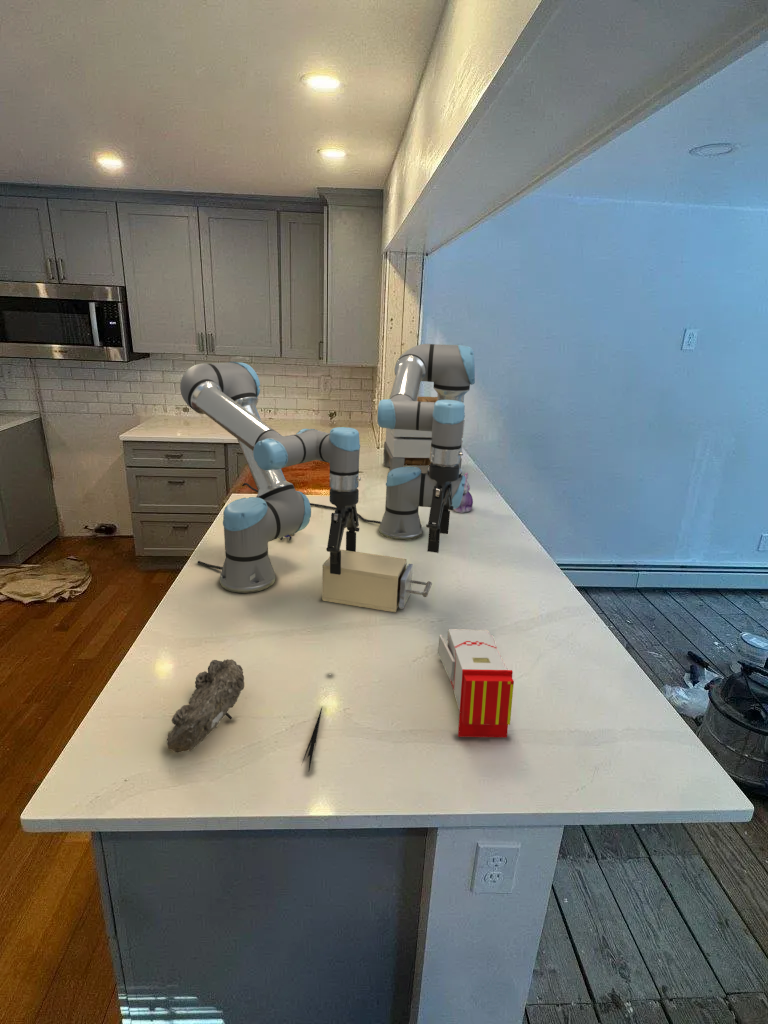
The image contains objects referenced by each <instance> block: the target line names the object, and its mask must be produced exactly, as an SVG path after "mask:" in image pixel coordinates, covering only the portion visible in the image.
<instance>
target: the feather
mask: <svg viewBox="0 0 768 1024" xmlns="http://www.w3.org/2000/svg"><path fill="white" fill-rule="evenodd" d="M329 675H330V676H331V675H332V674H331V673H330V674H329ZM322 710H323V707H321V708H320V710H319V713H318V716H317V719H316V723H315V725H314V728H313V731H312V733H311V737H310V739H309V742H308V745H307V748H306V751H305V754H304V757H303V760H302V763H301V767H302V765H303V763H304V761H305V758H308V759H309V760H308V762H307V763H308V764H307V766H308V771H310V770H311V766H312V765H311V764H312V760H313V757H315V756H314V755H315V751H316V749H315V746H317V739H318V733H319V729H320V722H321V717H322V712H323V711H322ZM313 754H314V755H313ZM306 755H307V757H306Z"/></svg>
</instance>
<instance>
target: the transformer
mask: <svg viewBox="0 0 768 1024" xmlns="http://www.w3.org/2000/svg"><path fill="white" fill-rule="evenodd" d="M417 401H418V402H436V401H437V396H418V398H417ZM464 429H465V419H464V423H463V433H462V439H463V438H464V431H465V430H464ZM431 442H432V431H419V430H402V429H389V428H385V438H384V442H383V466H384V467H388V468H389V472H390V471H391V470H393V469H396V468H399V467H405V466H406V467H417V466H418V467H429V465H430V463H431V462H430V449H431ZM463 442H464V441H463V440H462V442H461V450H460V452H463ZM462 461H463V460H462V456H460V463H459V464H458V465H459V467H460V469H461V470H462Z"/></svg>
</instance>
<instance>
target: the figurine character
mask: <svg viewBox="0 0 768 1024" xmlns="http://www.w3.org/2000/svg"><path fill="white" fill-rule="evenodd" d="M295 535H296V533H294V534H290V535H287V536H284V537H281V538H279V540H280V541H283V539H284V538H288V541H289V542H290V541H292V537H294V536H295Z"/></svg>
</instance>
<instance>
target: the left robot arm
mask: <svg viewBox="0 0 768 1024" xmlns="http://www.w3.org/2000/svg"><path fill="white" fill-rule="evenodd" d="M179 383H180V384H179V389H180V395H181V397H182V399H183V401H184V402H185V404H186V405H187V406H188V407H189V408H191V409H192V410H193V411H194V412H196V413H197V414H199V415H206V416H207V417H208V418H209V419H211V420H212V421H213V422H215V423H216V424H218V426H220V427H221V428H222V429H223V430H225V431H226V432H228V434H230V435H231V436H233V437H234V438H235V439H236V440H237V442H238V445H239V447H240V449H241V452H242V454H243V457H244V460H245V462H246V464H247V466H248V470H249V472H250V474H251V477H252V479H253V481H254V484H255V487H256V490H258V492H257V494H256V496H249V497H242V498H238V499H235V500H233V501H231V502H229V503H228V504H227V505H226V506H225V507H224V510H223V519H222V526H223V534H224V535H223V536H224V553H225V554H224V555H225V557H224V558H225V559H224V561H223V563H222V566H219V565H216V564H215V565H214V564H210V563H207V562H203V561H201V560H197V564H199V565H201V566H204V567H207V568H211V569H216V570H220V571H221V572H220V575H219V583H220V586H221V587H222V588H223V589H224V590H226V591H228V592H232V593H238V594H249V593H257V592H260V591H264V590H266V589H268V588H270V587H272V586H273V585H274V584H275V582H276V571H275V568H274V566H273V563H272V561H271V558H270V556H269V543H270V542H272V541H275V540H278V539H280V538H281V537H283V538H285V537H284V536H287V535H290V534H294V533H295V534H296V533H298V532H300V531H302V530H304V529H305V528H307V527H308V526H309V523H310V522H311V517H312V505H310V503H311V502H310V500H309V498H308V496H307V495H306V494H304V492H302V491H299V490H296V488H295V486H294V484H293V483H292V482H289V481H287V480H286V477H285V475H284V472H283V470H282V469H284V468H288V467H292V466H296V465H300V464H304V463H305V464H306V463H309V462H314V461H318V462H319V461H320V462H324V463H328V464H329V480H328V481H329V483H328V484H329V503H330V504H331V505H333V506H334V507H336V510H335V509H334V512H331V513H330V525H329V532H328V538H327V539H328V540H327V545H326V546H327V547H326V549H325V550H326V552H327V553H328V552H329V557H330V574H338V575H340V574H341V551H340V550H341V546H342V541H343V536H344V533H345V550H347V551H354V552H357V532H359V533H360V525H359V524H360V523H359V517H358V516H357V513H358V510H357V504H358V503H359V494H360V493H359V491H360V490H359V486H360V485H359V484H360V483H359V482H360V481H362V478H361V477H360V475H359V474H360V452H361V451H360V450H361V444H360V432H359V430H358V429H356V428H354V427H346V426H340V427H339V426H338V427H337V426H336V427H333V428H331V429H330V431H329V432H326V431H321V430H318V429H315V428H302V429H300V430H298V432H296V433H295V434H290V435H283V434H281V433H280V432H277V430H276V429H273V428H272V427H271V426H269V425H268V424H267V423H266V422H264V421H262V419H261V416H260V414H259V411H258V409H257V405H258V404H259V398H258V397H259V395H260V393H261V387H260V386H261V382H260V378H259V376H258V374H257V372H256V371H255V369H254V368H253V367H252V366H251V365H249V364H248V363H245V362H242V361H239V362H238V361H229V362H213V363H198V364H195V365H192V366H191V367H188V368H187V370H186V371H185V372H184V373H183V375H182V376H181V380H180V382H179ZM345 529H346V531H345Z"/></svg>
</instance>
